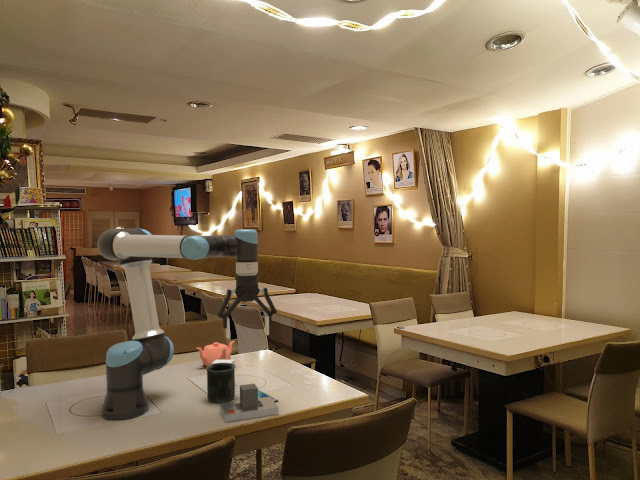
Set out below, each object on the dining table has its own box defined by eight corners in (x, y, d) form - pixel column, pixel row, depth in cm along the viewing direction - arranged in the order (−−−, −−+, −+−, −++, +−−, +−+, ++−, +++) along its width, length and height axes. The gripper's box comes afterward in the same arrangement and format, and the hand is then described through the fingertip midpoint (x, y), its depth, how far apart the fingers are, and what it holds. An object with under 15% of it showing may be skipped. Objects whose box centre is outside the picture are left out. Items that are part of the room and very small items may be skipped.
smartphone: (262, 405, 167) (242, 393, 180) (262, 407, 167) (243, 395, 180) (279, 401, 172) (259, 389, 184) (279, 403, 172) (259, 391, 184)
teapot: (235, 361, 225) (235, 339, 225) (227, 370, 211) (226, 346, 211) (206, 361, 226) (205, 338, 226) (195, 370, 212) (195, 346, 212)
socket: (225, 422, 154) (225, 413, 154) (220, 410, 164) (220, 402, 164) (278, 414, 160) (278, 405, 160) (270, 403, 170) (270, 395, 170)
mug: (210, 406, 168) (209, 372, 168) (201, 393, 181) (201, 362, 181) (239, 401, 173) (239, 368, 173) (229, 389, 186) (228, 359, 186)
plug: (243, 416, 158) (242, 390, 158) (240, 411, 163) (239, 385, 163) (258, 414, 160) (257, 388, 160) (254, 408, 165) (254, 383, 165)
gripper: (211, 276, 153) (212, 341, 154) (285, 273, 162) (285, 335, 162) (208, 274, 160) (209, 336, 161) (279, 272, 169) (279, 330, 169)
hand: (247, 336), depth 161 cm, fingers open, 13 cm apart
